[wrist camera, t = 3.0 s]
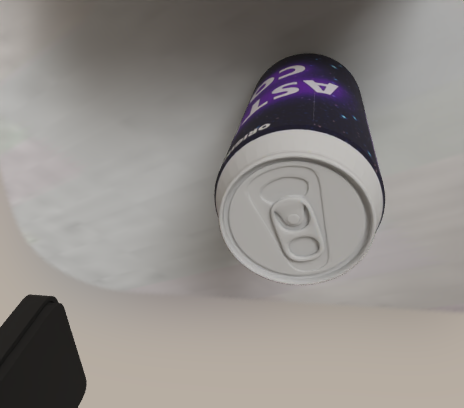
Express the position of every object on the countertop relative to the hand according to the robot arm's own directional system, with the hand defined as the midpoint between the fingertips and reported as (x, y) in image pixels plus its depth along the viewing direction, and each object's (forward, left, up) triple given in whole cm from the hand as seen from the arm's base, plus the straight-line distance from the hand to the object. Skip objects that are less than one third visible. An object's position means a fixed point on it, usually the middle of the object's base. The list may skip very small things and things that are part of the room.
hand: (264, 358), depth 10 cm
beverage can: (0, 0, -17) cm, 17 cm away
